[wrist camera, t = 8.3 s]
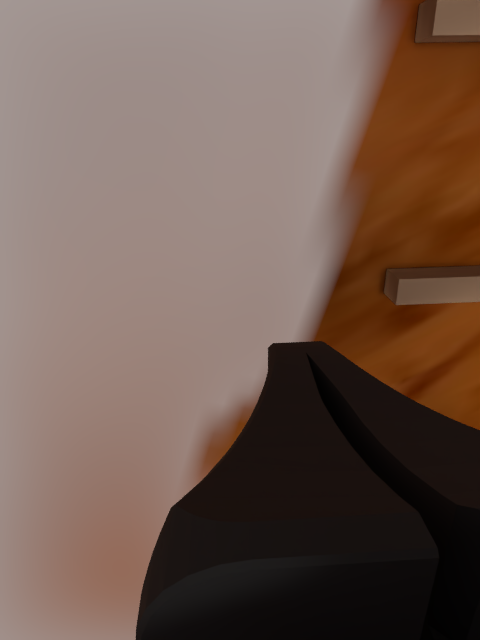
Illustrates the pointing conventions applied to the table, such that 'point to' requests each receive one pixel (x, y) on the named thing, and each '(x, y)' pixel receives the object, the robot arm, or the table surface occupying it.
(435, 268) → the guide channel
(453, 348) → the table surface
